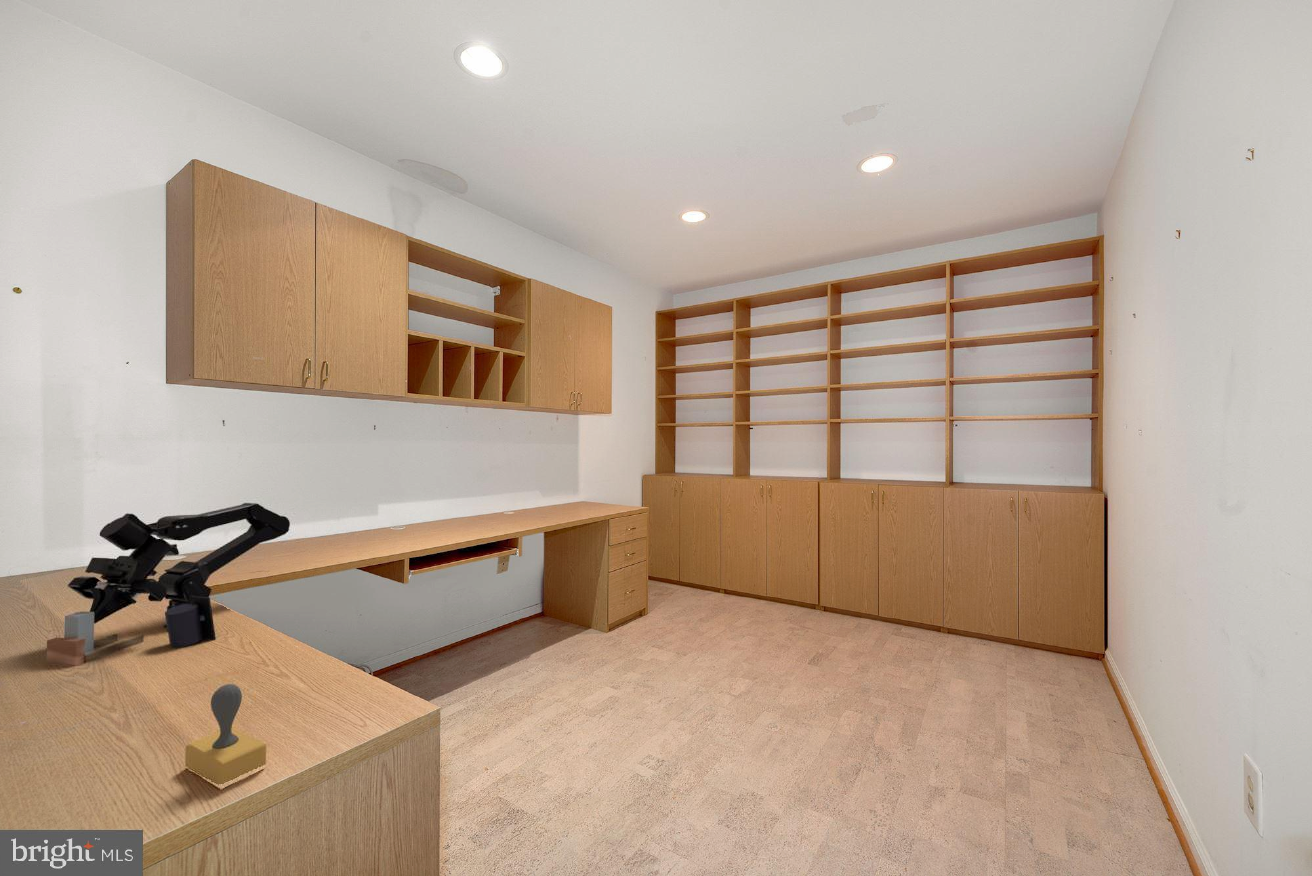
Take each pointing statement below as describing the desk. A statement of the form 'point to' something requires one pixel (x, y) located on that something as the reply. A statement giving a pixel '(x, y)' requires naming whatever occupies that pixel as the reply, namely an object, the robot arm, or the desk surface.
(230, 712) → the rubber stamp
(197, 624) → the speaker
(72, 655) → the guide track
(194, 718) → the desk surface
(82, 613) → the sliding block
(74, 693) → the desk surface
